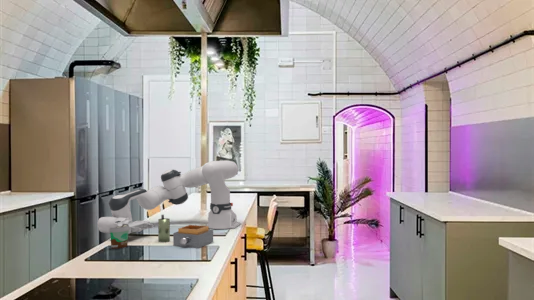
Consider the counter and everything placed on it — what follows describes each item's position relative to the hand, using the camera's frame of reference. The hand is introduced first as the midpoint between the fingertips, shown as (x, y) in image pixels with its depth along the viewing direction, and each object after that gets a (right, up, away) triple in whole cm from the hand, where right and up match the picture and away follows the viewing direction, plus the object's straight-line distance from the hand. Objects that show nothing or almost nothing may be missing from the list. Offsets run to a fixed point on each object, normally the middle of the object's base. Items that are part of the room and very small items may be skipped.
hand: (146, 228), depth 229 cm
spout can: (+10, -6, -3) cm, 12 cm away
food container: (-7, -6, -16) cm, 19 cm away
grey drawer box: (+25, -6, -11) cm, 28 cm away
